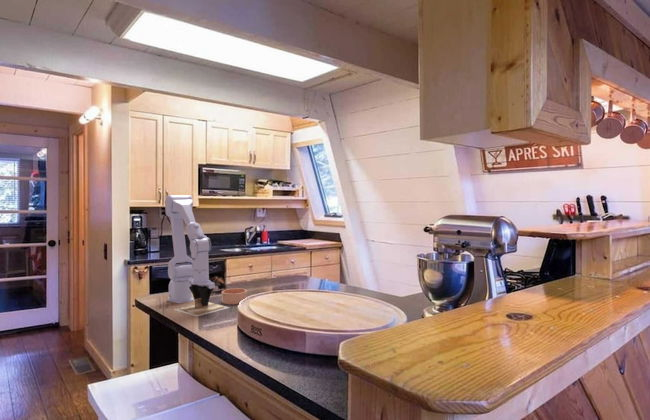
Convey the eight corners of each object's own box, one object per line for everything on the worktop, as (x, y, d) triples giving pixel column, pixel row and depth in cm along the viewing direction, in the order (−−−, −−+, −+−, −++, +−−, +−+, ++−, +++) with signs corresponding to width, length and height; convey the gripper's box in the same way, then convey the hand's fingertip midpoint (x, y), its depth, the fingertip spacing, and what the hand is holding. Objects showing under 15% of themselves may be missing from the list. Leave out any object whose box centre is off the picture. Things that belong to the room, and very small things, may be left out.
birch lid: (179, 309, 162) (178, 298, 161) (205, 302, 171) (205, 292, 171) (197, 314, 154) (197, 303, 154) (224, 307, 163) (224, 297, 163)
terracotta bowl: (217, 302, 173) (216, 291, 173) (236, 297, 180) (236, 287, 180) (232, 306, 166) (232, 295, 166) (252, 301, 174) (251, 290, 174)
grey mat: (173, 310, 161) (173, 309, 161) (206, 302, 173) (206, 301, 173) (196, 317, 152) (196, 316, 152) (229, 308, 164) (229, 307, 164)
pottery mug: (226, 296, 185) (216, 281, 184) (208, 305, 187) (198, 290, 185) (233, 283, 197) (223, 269, 195) (216, 292, 199) (207, 277, 197)
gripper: (180, 269, 163) (181, 303, 164) (203, 273, 154) (204, 310, 155) (196, 266, 169) (197, 300, 169) (219, 270, 160) (219, 306, 160)
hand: (201, 304), depth 162 cm, fingers open, 4 cm apart
